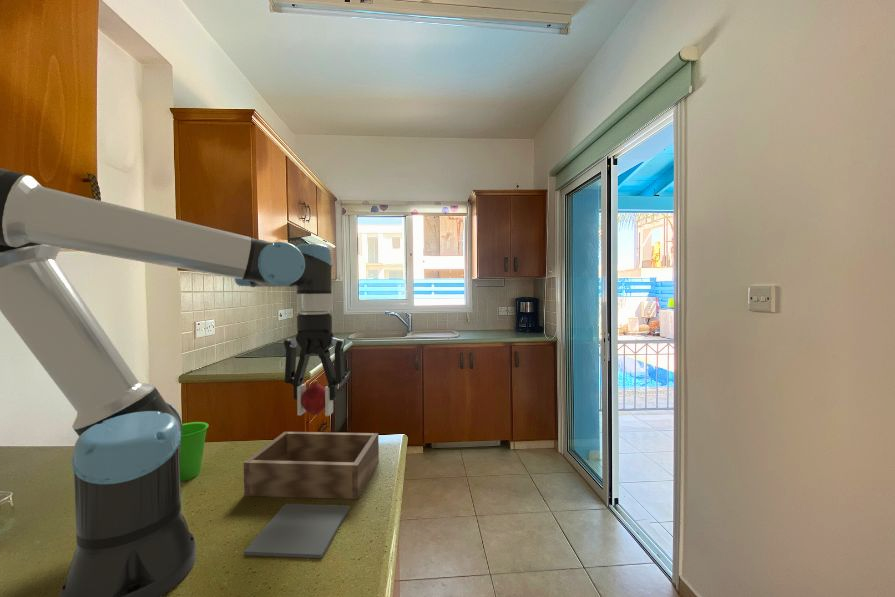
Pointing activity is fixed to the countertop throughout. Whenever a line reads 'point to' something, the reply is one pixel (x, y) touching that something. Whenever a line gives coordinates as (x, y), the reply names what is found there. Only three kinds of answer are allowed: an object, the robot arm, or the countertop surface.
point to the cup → (192, 449)
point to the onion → (314, 398)
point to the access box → (312, 465)
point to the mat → (299, 531)
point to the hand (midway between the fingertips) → (315, 413)
